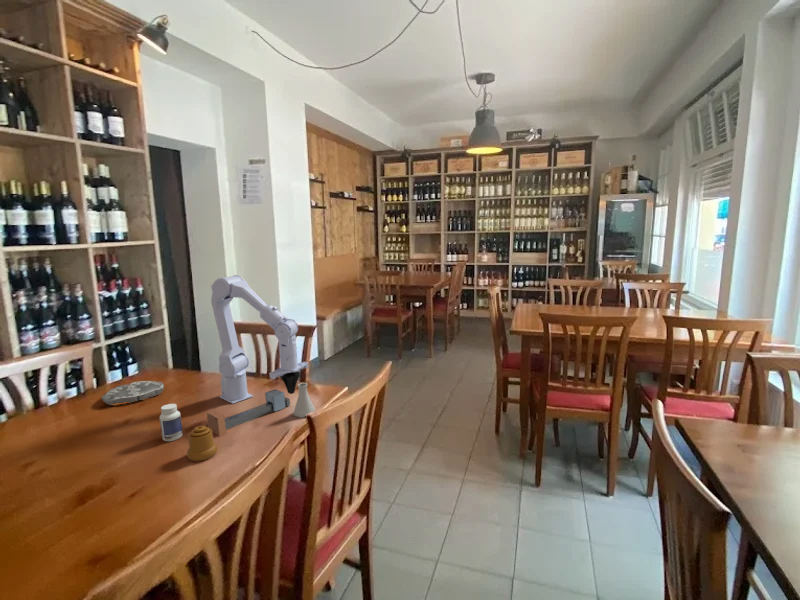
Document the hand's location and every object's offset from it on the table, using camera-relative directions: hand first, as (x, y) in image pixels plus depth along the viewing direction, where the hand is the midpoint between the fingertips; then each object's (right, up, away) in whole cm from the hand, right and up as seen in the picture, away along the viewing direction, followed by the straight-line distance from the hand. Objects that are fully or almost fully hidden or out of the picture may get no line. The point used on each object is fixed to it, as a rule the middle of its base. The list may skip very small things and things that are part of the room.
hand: (291, 392), depth 147 cm
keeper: (-4, -4, -4) cm, 7 cm away
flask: (+7, -5, -9) cm, 12 cm away
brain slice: (-61, -4, +9) cm, 62 cm away
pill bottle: (-29, -8, -23) cm, 38 cm away
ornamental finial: (-15, -10, -33) cm, 37 cm away
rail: (-10, -6, -11) cm, 15 cm away
